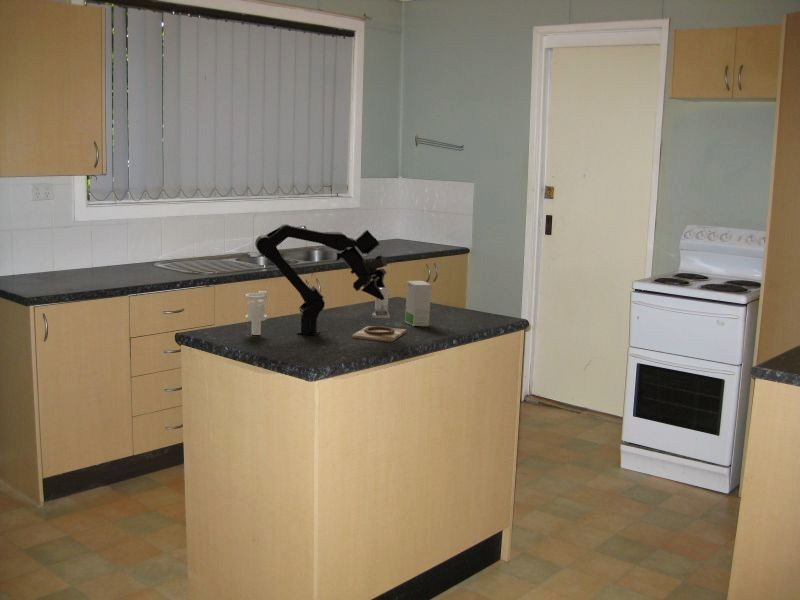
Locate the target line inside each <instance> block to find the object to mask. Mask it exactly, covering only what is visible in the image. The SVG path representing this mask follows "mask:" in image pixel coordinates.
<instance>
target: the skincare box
mask: <svg viewBox="0 0 800 600" xmlns="http://www.w3.org/2000/svg"><path fill="white" fill-rule="evenodd" d="M431 295H432V284H430V283H428V282H427V281H424V280H407V281H406V297H405V298H406V299H405V313H404V315H405V316H404V323H406V324H408V325H409V324H410V325H409V326H411V325H412V326H411V327H413V326H421V327H429V326H430V312H431Z"/></svg>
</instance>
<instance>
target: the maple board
mask: <svg viewBox="0 0 800 600" xmlns="http://www.w3.org/2000/svg"><path fill="white" fill-rule="evenodd" d="M406 331H407V329H406V328H405V329H404V328H394V327H393V328H392V327H389V326H381V325H380V326H379V325H377V326H373V325H367V326H366V327H363V328H362V329H360V330H359V331H357V332H354V333H353V334H352V335H351V339H357V338H358V339H359V340H368V341H369V340H370V341H377V340H378V341H377V342H379V341H380V342H388V343H392V342H394V341H395V340H397V339H398V338H399V337H401V336H403V335H404V334H406Z"/></svg>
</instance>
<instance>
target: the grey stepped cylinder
mask: <svg viewBox="0 0 800 600" xmlns="http://www.w3.org/2000/svg"><path fill="white" fill-rule="evenodd" d="M267 292H268V291H266V290H264V291H263V290H259V291H258V292H249V293H246V294H245V296H244V297H245V300H249V301H248V302H247V314H246V315H245V321H248V322H249V321H250V322H251V335H252V334H253V335H260V334H261V335H262V333H261V329H262V324H261V323H262V322H264V321H266V320H268V315H267V314H265V303H267V302H268V301H267V299H268V293H267ZM261 335H260V336H261Z"/></svg>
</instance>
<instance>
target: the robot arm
mask: <svg viewBox="0 0 800 600" xmlns="http://www.w3.org/2000/svg"><path fill="white" fill-rule="evenodd" d="M370 232H371V231H369V230H368V229H365V230H364V231H363V232H362V233H361V234H360V235H359V236H358V237H356V238H353V237H347V235H346V234H344V233H343V232H340V231H338V232H337V231H324V232H323V231H318V230H314V229H313V230H312V229H308V228H302V227H299V226H298V227H297V226H294V225H290V224H287V223H286V224H285V223H284V224H281V226H279V227H277V228H276V229H274V230H272V231H270V232H269V233H267V234H262V235H259V236H258V237H257V238H256V239H255V243H254V245H255V248H256V249H257V251H258V252H259V253H260V254H261V255H262V256H264V257H265V258H266V259H267V260H269V261H270V262H272V263H273V264H274V266H275V267H276V268H277V269H278V270H279V271H280V272H281V273H282V274H283V276H284V277H285V278H286V279H287V280H288V282H290V284H291V285H292V286H293V287H294V288H295V290H296V291H297V292H298V293H299V296H300V297H301V298H302V300H303V303H302V304H301V305H300V306H299V307H298V310H299V311H300V314H301V315H300V330H299V331H297V332H296V335H304V334H305V336H316V335H317V334H319V333H321V332H322V330H320V329H319V330H318V318H319V316H320V312H322V311H323V310H324V309H325V301H324V298H325V296H323V294H321V292H319V291H318V289H317V288H316V287H315V286H314V285H313V286H312V287H310V286H309V285H307V284H306V283H305V282H304V281H303V279H302V278H301V277H300V276H299V275H298V273H296V271H295V270H294V269H293V267H291V265H290V264H289V263H288V262H287V261H286V260H285V258H284V257H283V256H282V255H281V253H280V251H279V249H278V247H277V246H279V244H281V243H282V242H283V241H284V240H286V239H287V238H290V239H291V238H292V239H296V240H303V241H306V242H312V243H316V244H320V245H324V246H326V247H329V248H330V249H333V250H336V251H338V252H337V253H336V258H335V260H336V262H337V263H339V262H340V261H343V262H344V263H345V265H347V266H348V268H349V269H350V273H351V274H352V275H355V276H356V278H357V279H356V280H355V281H354V282H353V283H352V286H353V287H352V288H354V290H355V291H356V292H358V291H361V292H363V293H366V294H368V295H371V296H373V297H374V298H378V299H380V300H383V299H384V296H383V295H382V293H381V291H380V290H379V288H378V287H386V286H385V284H384V283H385V282H384V279H385V276H386V274H387V273H388V272H387V271H386V270H385V269H384V267H387V266H388V264H387V260H388V259H387V258H386V257H385V256H383V255H382V254H380V255H378V256H376V257H375V259H373V260H372V261H370V259H365V258H364V257H363V256H362V255H364V254H365V255H369V254H370V253H371V252H373V250H375V249H376V248H377V247H378V246H380V242H379V241H378V240H377V238H376V237H375V236H373V234H372V233H370ZM348 248H349V249H348ZM360 253H361V254H362V255H361V254H360ZM361 288H362V289H361ZM389 297H390V295H389V296H388V298H389Z"/></svg>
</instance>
